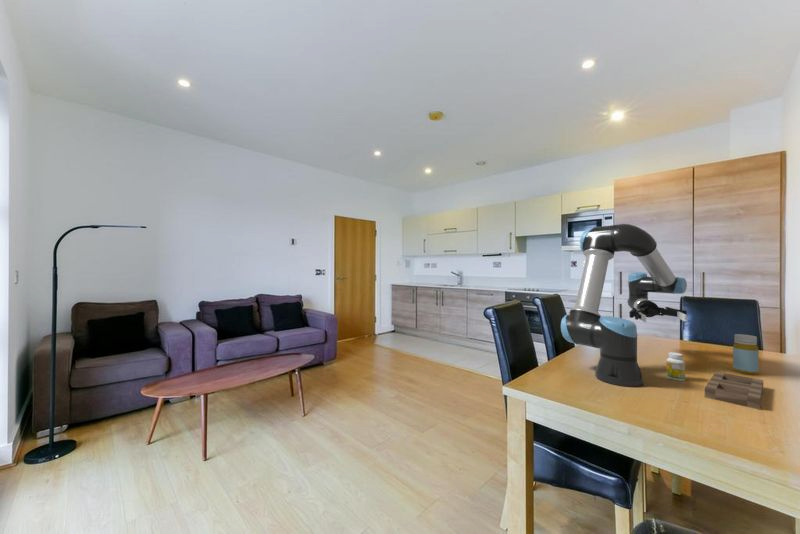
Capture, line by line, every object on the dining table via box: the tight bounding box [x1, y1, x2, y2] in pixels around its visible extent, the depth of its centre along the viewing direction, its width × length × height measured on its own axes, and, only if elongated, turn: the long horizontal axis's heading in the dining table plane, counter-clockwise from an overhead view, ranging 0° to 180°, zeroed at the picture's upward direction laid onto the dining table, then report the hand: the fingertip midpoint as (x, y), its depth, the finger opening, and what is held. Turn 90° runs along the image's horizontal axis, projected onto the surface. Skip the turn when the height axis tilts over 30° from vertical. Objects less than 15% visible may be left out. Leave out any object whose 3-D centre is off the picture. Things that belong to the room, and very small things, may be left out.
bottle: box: [732, 333, 760, 376], centre depth 129 cm, size 7×7×15 cm
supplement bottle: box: [666, 351, 686, 382], centre depth 122 cm, size 5×5×10 cm
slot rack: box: [704, 371, 764, 410], centre depth 108 cm, size 26×12×3 cm, turn 129°
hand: (665, 318), depth 129 cm, fingers open, 13 cm apart
